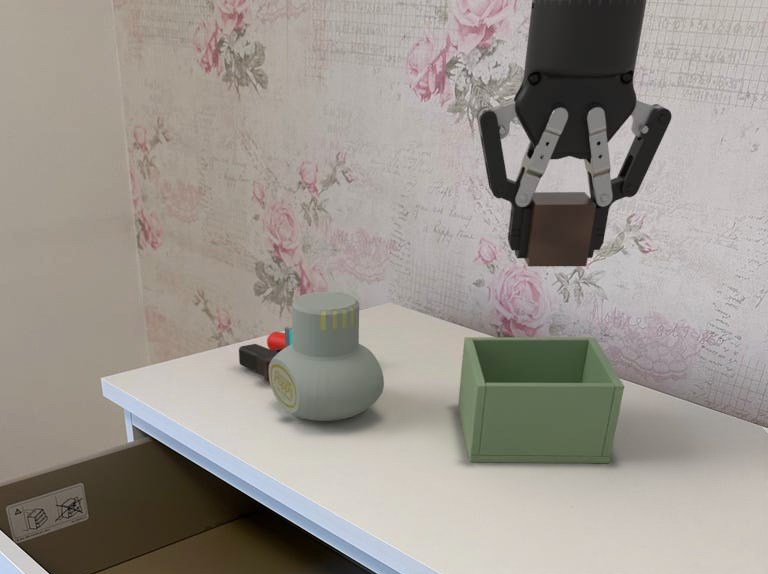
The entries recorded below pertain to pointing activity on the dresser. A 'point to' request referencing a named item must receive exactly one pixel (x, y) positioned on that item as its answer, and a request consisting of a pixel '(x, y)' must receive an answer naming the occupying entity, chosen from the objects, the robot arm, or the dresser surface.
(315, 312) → the air freshener
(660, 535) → the dresser surface
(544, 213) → the walnut block
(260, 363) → the toy gun
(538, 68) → the robot arm
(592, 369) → the green open box
